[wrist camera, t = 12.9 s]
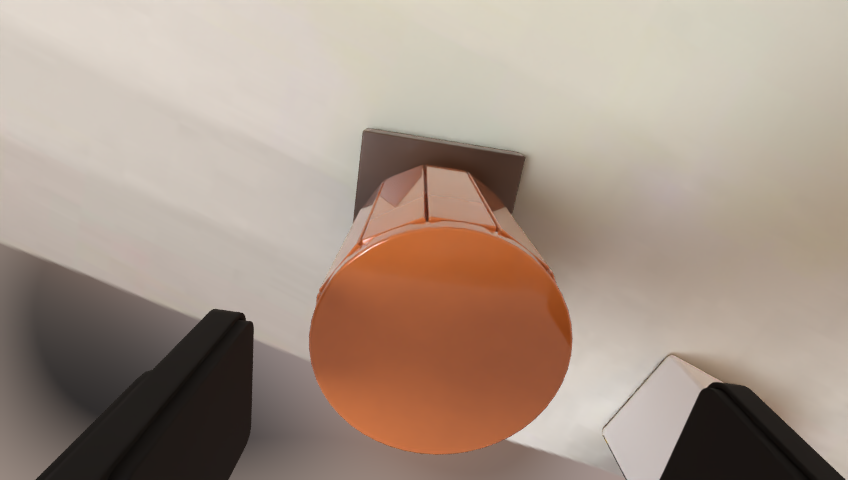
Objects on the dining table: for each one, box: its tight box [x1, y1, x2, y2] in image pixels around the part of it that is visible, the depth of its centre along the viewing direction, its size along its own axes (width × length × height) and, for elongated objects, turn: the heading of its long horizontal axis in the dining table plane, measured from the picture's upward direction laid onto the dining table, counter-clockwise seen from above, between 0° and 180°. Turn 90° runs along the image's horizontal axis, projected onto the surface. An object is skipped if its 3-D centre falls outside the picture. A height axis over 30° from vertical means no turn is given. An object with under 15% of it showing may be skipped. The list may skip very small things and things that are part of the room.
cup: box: [309, 164, 572, 455], centre depth 15 cm, size 7×7×8 cm
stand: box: [353, 128, 525, 223], centre depth 18 cm, size 8×8×13 cm
